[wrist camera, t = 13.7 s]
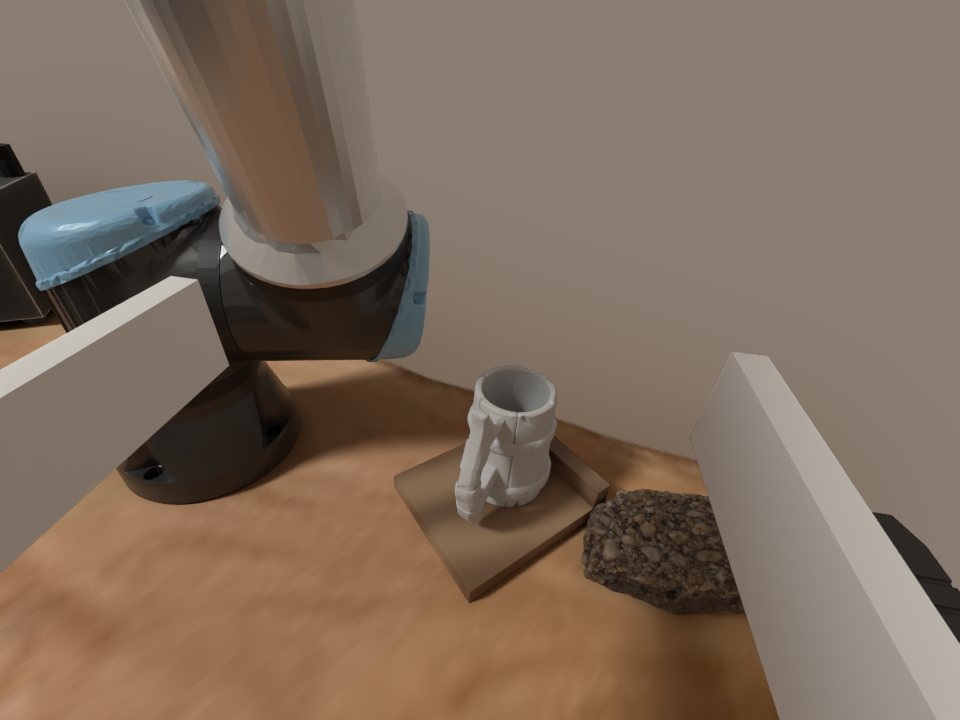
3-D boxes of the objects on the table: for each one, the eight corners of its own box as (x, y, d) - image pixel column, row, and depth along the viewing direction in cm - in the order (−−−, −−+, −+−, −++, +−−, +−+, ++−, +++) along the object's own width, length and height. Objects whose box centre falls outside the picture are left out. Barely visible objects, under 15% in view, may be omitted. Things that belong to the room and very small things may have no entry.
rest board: (394, 487, 38) (392, 460, 36) (515, 429, 45) (518, 404, 43) (469, 602, 30) (471, 576, 28) (601, 511, 37) (610, 485, 35)
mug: (559, 463, 40) (584, 357, 33) (504, 569, 31) (522, 455, 24) (487, 432, 42) (496, 329, 36) (418, 522, 34) (412, 407, 27)
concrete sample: (734, 541, 36) (759, 503, 33) (731, 662, 28) (764, 627, 25) (600, 485, 40) (613, 447, 37) (566, 578, 32) (579, 540, 29)
